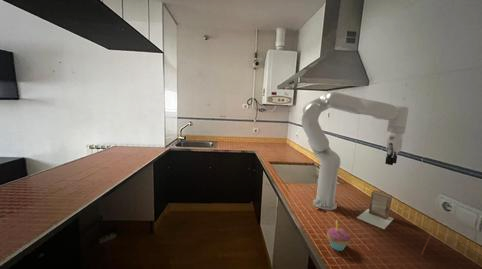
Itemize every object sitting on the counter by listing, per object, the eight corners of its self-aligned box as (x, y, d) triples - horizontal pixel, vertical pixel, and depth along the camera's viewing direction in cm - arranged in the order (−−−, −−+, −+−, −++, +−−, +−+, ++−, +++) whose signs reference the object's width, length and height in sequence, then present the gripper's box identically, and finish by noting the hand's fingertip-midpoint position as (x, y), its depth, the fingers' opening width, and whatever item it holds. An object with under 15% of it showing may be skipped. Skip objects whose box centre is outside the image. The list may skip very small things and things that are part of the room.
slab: (386, 219, 102) (389, 197, 101) (368, 213, 108) (371, 191, 107) (388, 217, 105) (392, 195, 103) (371, 210, 111) (374, 189, 110)
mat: (384, 230, 94) (384, 229, 94) (356, 218, 103) (356, 217, 103) (393, 219, 104) (393, 218, 104) (367, 209, 113) (367, 208, 113)
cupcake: (338, 256, 75) (341, 226, 74) (320, 242, 83) (323, 214, 81) (354, 251, 79) (358, 222, 77) (335, 237, 86) (339, 211, 85)
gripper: (400, 131, 98) (394, 167, 100) (408, 130, 109) (403, 163, 111) (382, 129, 103) (377, 164, 106) (392, 128, 114) (387, 160, 117)
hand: (390, 163), depth 108 cm, fingers open, 5 cm apart
